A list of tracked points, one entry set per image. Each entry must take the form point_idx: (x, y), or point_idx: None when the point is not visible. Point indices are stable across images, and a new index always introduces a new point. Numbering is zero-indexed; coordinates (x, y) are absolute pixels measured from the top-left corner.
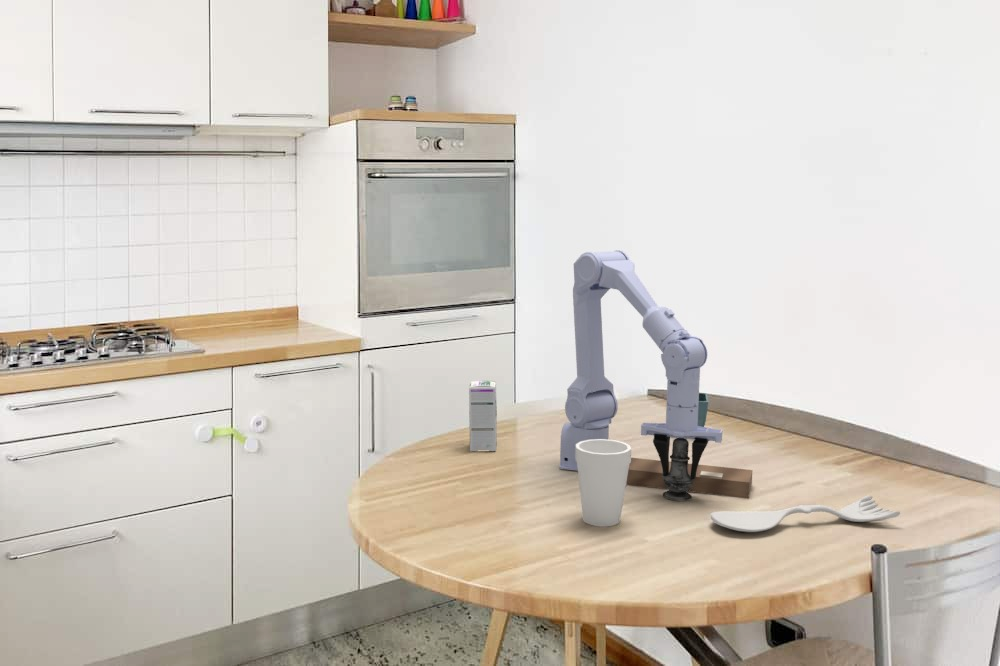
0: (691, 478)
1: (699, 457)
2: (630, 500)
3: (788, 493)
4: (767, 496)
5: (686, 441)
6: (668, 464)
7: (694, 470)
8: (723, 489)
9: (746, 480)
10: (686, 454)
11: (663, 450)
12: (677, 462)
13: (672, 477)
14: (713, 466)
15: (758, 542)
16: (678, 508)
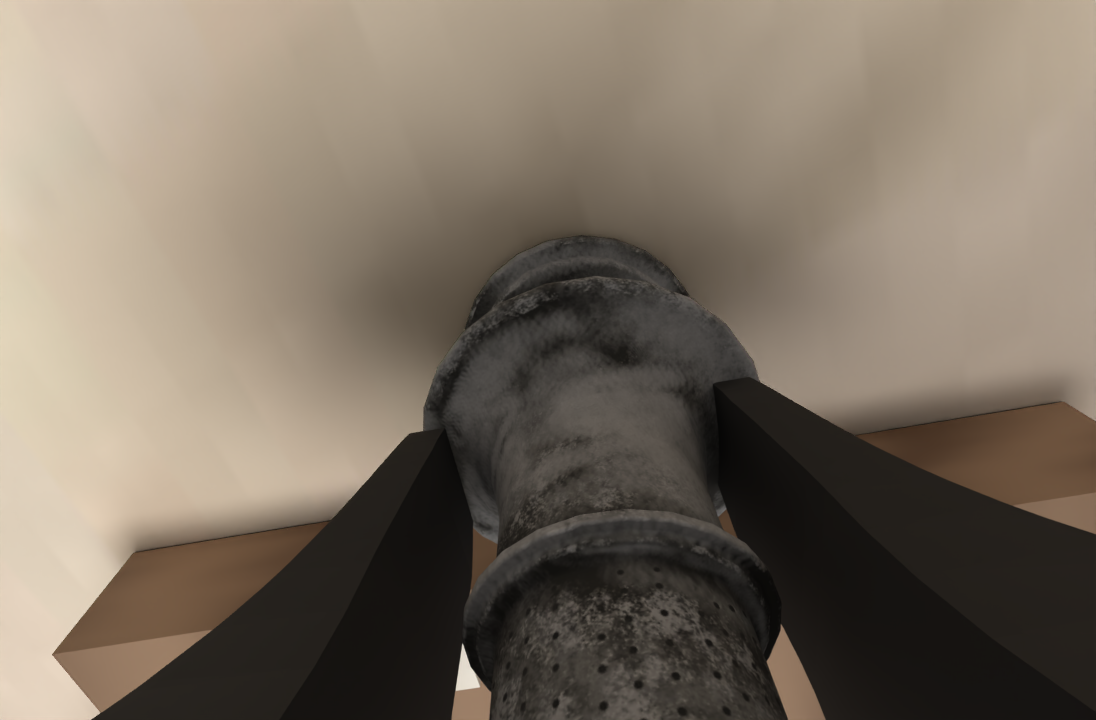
0: (434, 431)
1: (195, 649)
2: (956, 24)
3: (10, 714)
4: (65, 628)
5: None
6: (754, 545)
7: (371, 484)
8: (285, 558)
9: (99, 679)
10: (496, 689)
11: (997, 579)
12: (614, 500)
13: (634, 348)
14: None
15: None
16: (463, 43)
